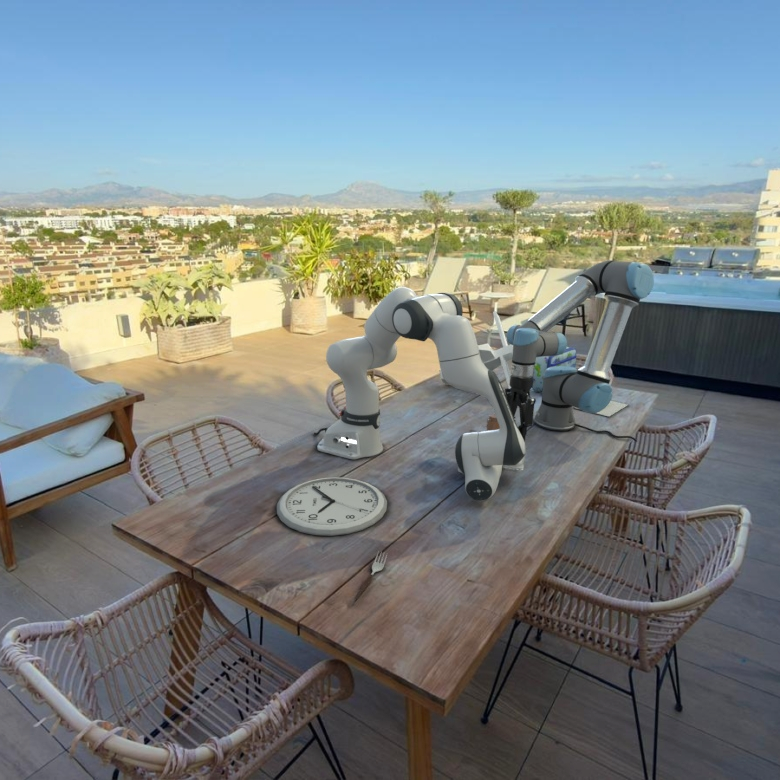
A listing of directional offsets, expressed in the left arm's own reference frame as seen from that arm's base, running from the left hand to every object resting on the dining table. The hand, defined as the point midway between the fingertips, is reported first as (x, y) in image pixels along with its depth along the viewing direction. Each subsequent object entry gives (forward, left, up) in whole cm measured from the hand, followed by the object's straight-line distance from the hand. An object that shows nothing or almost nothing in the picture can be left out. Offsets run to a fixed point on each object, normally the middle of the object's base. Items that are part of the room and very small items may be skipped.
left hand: (493, 448), depth 165 cm
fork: (-17, -66, -7) cm, 68 cm away
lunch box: (+16, +94, -7) cm, 95 cm away
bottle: (0, -1, -7) cm, 7 cm away
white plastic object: (-16, +78, -7) cm, 80 cm away
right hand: (+6, +16, -3) cm, 17 cm away
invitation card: (+37, +76, -7) cm, 85 cm away
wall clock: (-38, -39, -7) cm, 55 cm away
